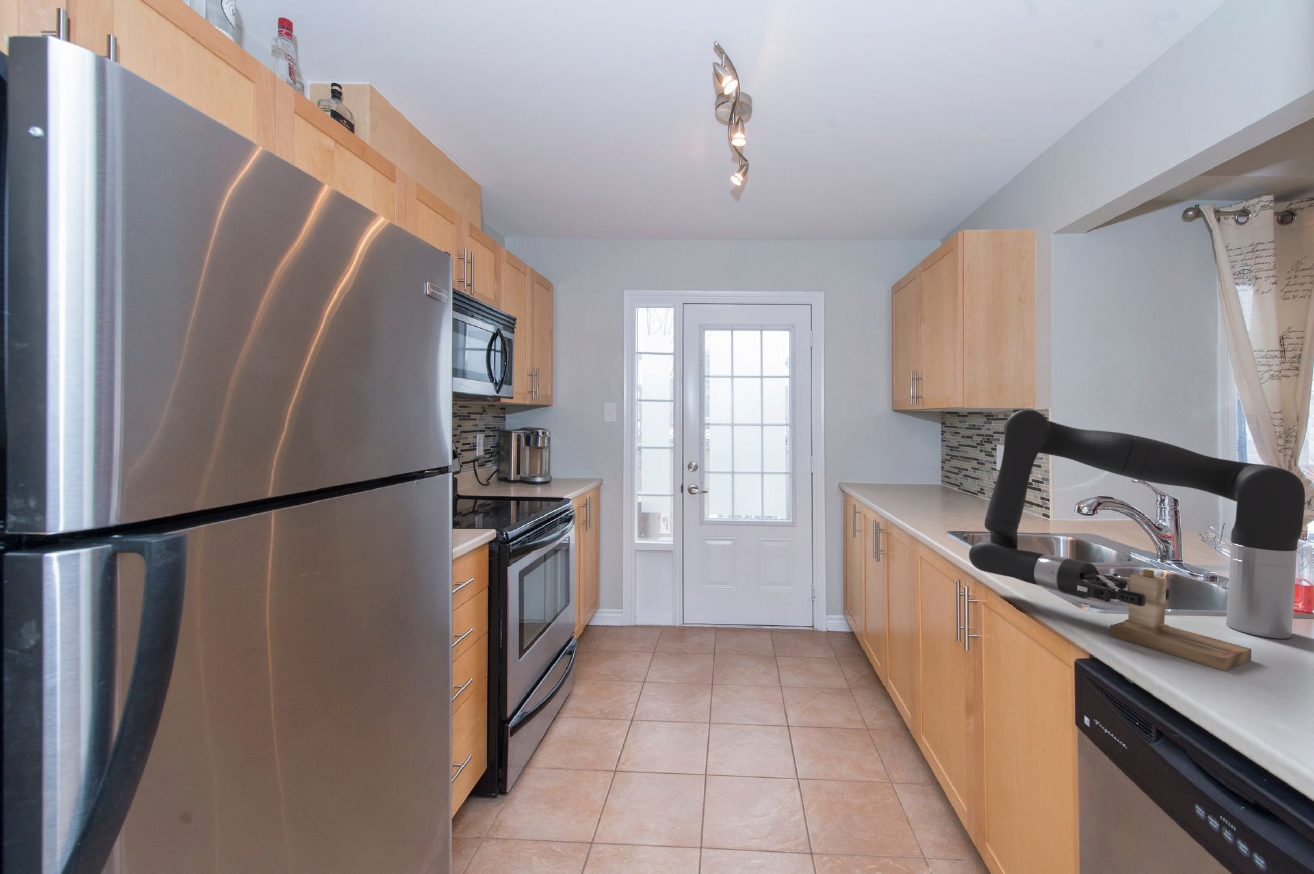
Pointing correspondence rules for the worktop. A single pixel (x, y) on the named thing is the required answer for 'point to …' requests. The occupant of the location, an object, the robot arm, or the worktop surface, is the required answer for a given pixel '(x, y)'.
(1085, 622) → the worktop surface
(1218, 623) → the worktop surface
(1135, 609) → the pale wood tall block
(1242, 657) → the plank
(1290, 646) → the worktop surface
